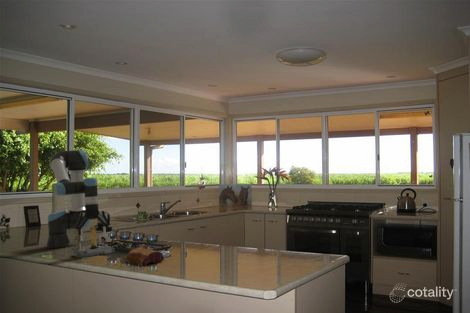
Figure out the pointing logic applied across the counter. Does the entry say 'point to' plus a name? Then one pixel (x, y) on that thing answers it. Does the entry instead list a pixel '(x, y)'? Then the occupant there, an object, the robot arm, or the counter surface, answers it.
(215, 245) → the counter surface
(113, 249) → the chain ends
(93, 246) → the brass pin
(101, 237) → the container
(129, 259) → the cured meat
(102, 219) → the milk frother
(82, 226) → the robot arm
